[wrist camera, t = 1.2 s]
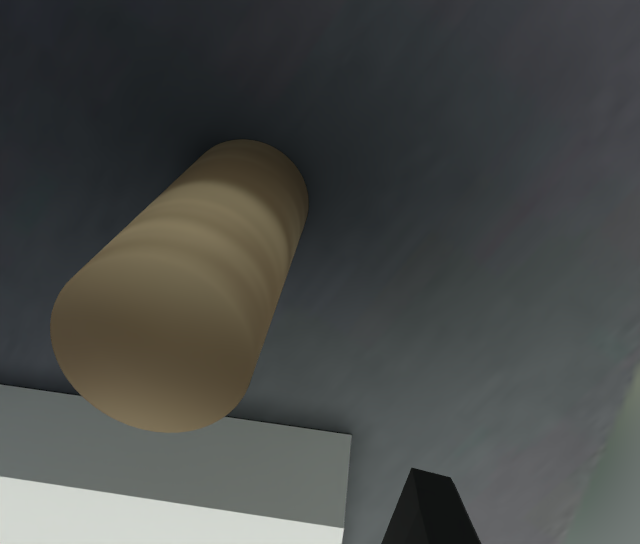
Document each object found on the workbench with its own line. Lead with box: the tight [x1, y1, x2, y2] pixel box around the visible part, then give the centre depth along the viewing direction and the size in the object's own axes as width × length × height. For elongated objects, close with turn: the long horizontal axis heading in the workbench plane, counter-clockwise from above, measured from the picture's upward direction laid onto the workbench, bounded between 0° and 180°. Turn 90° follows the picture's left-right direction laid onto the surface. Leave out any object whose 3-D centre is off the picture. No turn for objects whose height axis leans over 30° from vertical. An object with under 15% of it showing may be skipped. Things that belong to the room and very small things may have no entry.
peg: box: [50, 139, 309, 433], centre depth 14 cm, size 4×4×8 cm
